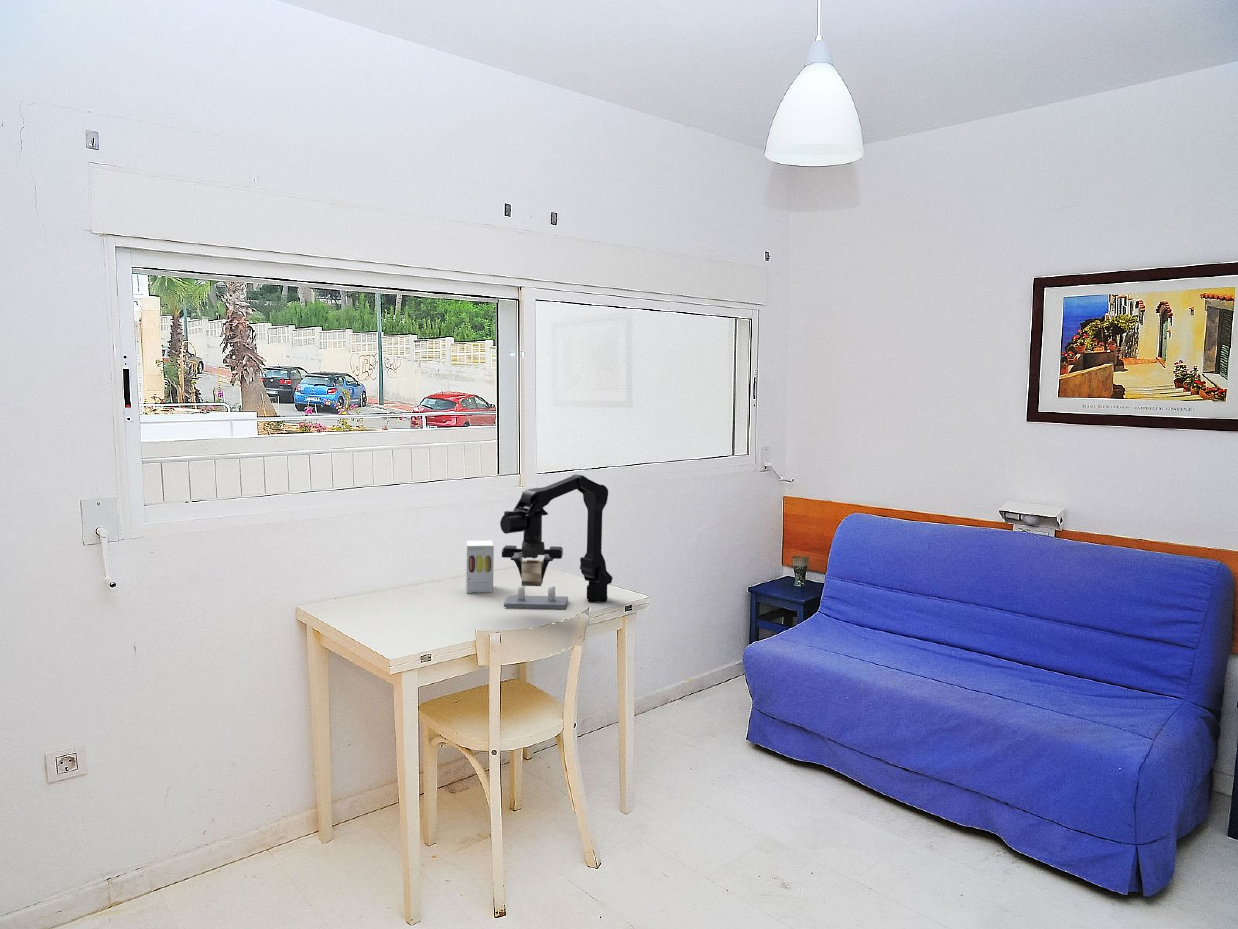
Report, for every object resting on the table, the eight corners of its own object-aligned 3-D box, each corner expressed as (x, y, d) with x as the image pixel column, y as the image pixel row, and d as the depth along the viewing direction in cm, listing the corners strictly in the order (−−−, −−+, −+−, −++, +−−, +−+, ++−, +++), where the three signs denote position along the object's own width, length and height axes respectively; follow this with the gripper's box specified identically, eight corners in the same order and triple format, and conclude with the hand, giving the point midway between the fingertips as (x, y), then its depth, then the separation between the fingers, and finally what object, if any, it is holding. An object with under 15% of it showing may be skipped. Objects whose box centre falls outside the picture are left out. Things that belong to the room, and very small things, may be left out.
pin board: (567, 600, 272) (568, 583, 272) (565, 609, 262) (565, 591, 262) (508, 599, 272) (508, 582, 272) (503, 608, 263) (503, 590, 262)
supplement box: (466, 593, 279) (465, 545, 277) (465, 586, 288) (465, 540, 286) (494, 592, 281) (494, 545, 279) (492, 585, 290) (492, 539, 288)
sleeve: (542, 581, 258) (543, 559, 258) (540, 586, 252) (540, 564, 252) (524, 581, 258) (524, 559, 258) (521, 585, 252) (521, 563, 252)
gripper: (498, 534, 246) (498, 584, 247) (560, 535, 245) (559, 586, 247) (504, 527, 257) (504, 575, 258) (563, 528, 256) (562, 577, 258)
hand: (532, 578), depth 255 cm, fingers closed on sleeve, 6 cm apart
